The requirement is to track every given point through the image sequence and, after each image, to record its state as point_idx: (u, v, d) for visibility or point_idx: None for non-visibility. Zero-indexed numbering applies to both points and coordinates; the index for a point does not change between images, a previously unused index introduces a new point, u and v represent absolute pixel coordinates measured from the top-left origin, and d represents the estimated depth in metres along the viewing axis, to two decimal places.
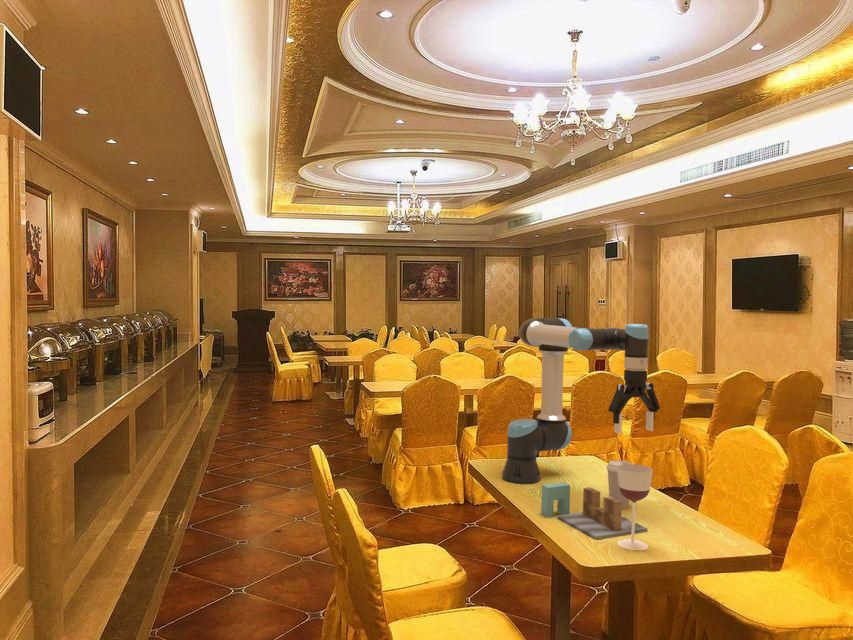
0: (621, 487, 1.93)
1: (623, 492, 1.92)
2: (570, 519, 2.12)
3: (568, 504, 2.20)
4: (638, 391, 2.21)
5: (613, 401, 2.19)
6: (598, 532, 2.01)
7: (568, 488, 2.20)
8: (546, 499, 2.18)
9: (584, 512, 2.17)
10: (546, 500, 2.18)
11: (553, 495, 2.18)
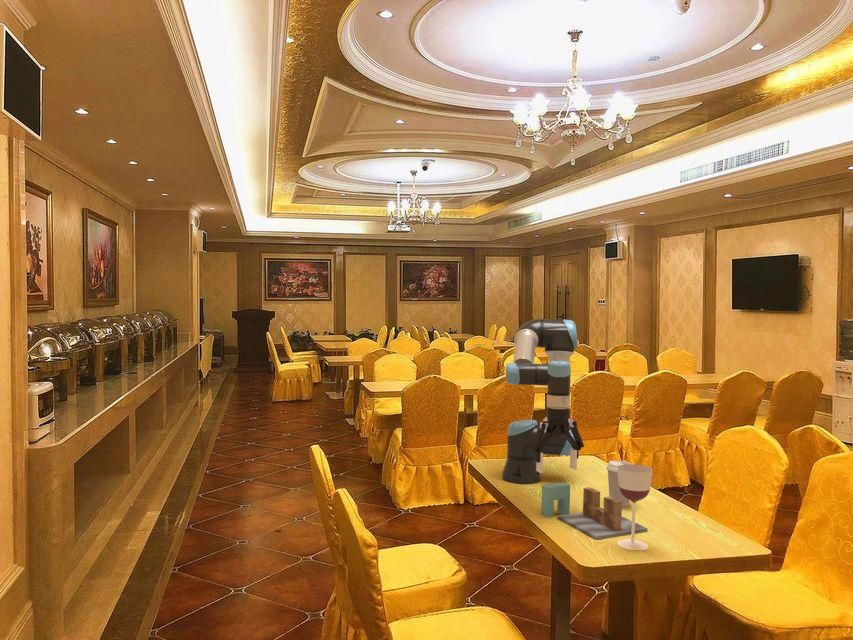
0: (621, 487, 1.93)
1: (623, 492, 1.92)
2: (570, 519, 2.12)
3: (568, 504, 2.20)
4: (560, 429, 2.19)
5: (534, 440, 2.16)
6: (598, 532, 2.01)
7: (568, 488, 2.20)
8: (546, 499, 2.18)
9: (584, 512, 2.17)
10: (546, 500, 2.18)
11: (553, 495, 2.18)
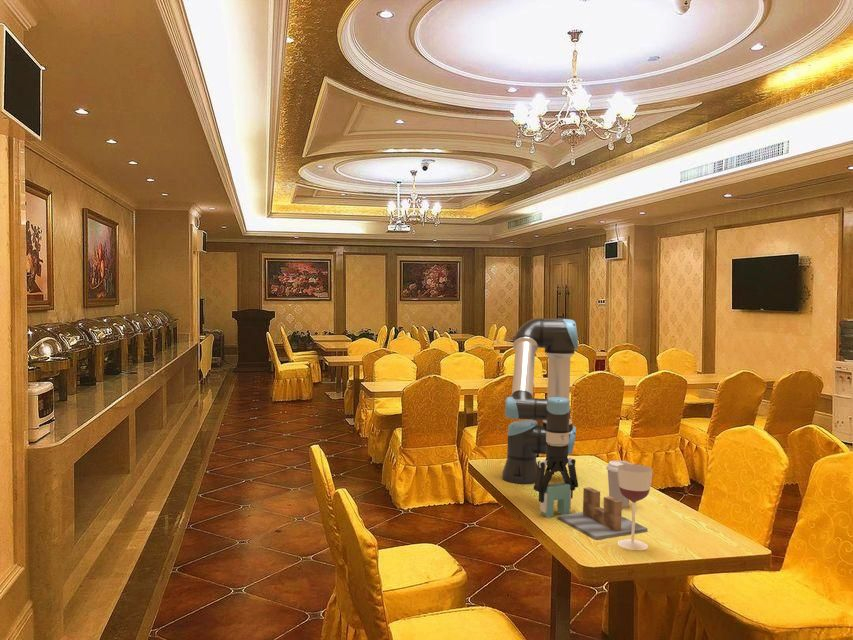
0: (621, 487, 1.93)
1: (623, 492, 1.92)
2: (570, 519, 2.12)
3: (568, 504, 2.20)
4: (559, 466, 2.19)
5: (536, 480, 2.17)
6: (598, 532, 2.01)
7: (568, 488, 2.20)
8: None
9: (584, 512, 2.17)
10: None
11: (553, 495, 2.18)
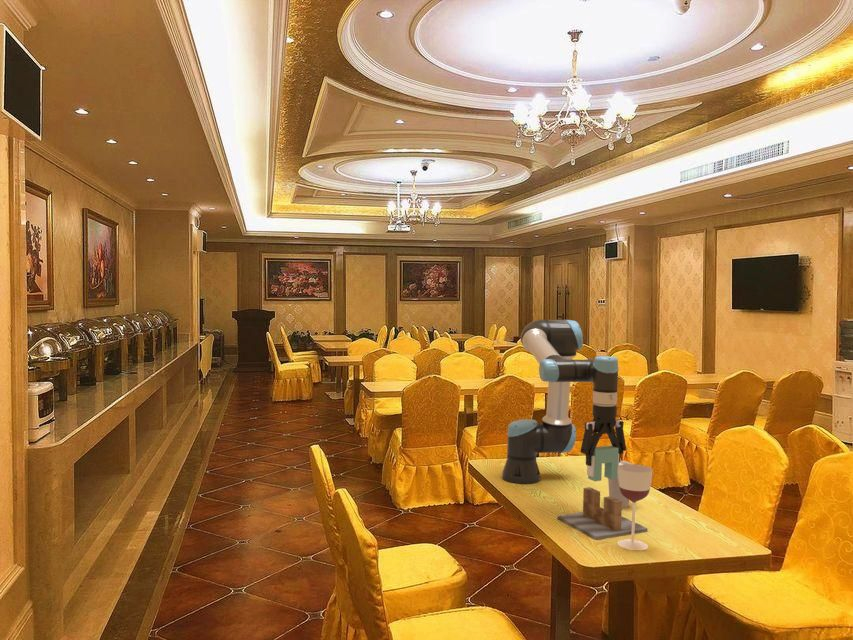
0: (621, 487, 1.93)
1: (623, 492, 1.92)
2: (570, 519, 2.12)
3: (616, 468, 2.10)
4: (607, 427, 2.09)
5: (584, 442, 2.07)
6: (598, 532, 2.01)
7: (616, 451, 2.10)
8: None
9: (584, 512, 2.17)
10: None
11: (601, 458, 2.08)
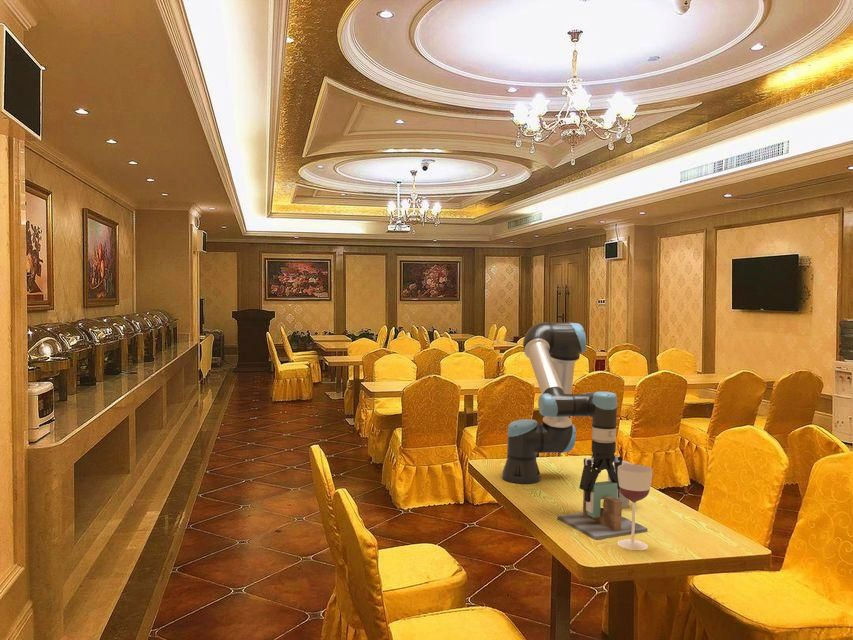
0: (621, 487, 1.93)
1: (623, 492, 1.92)
2: (570, 519, 2.12)
3: None
4: (606, 463, 2.09)
5: (583, 478, 2.08)
6: (598, 532, 2.01)
7: (615, 486, 2.10)
8: None
9: (584, 512, 2.17)
10: None
11: (600, 494, 2.08)
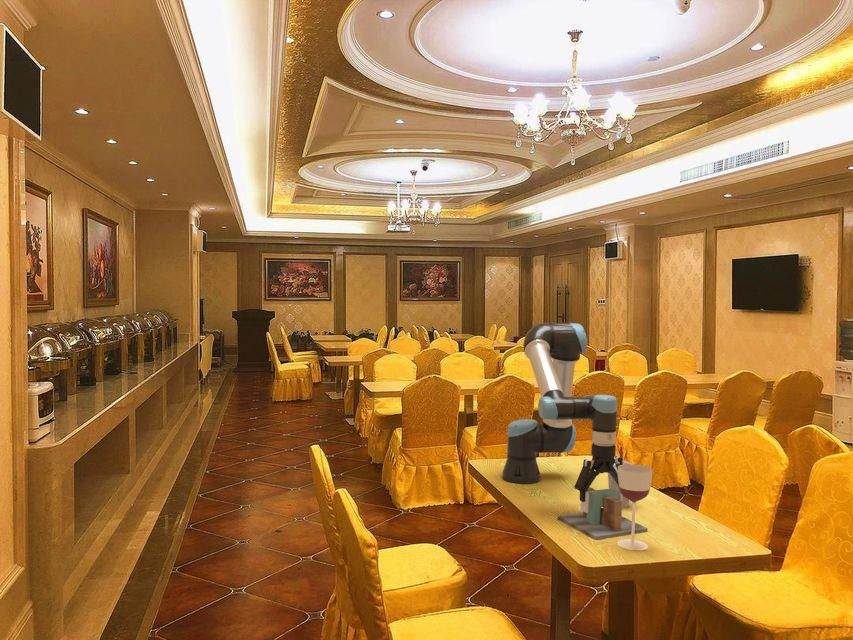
0: (621, 487, 1.93)
1: (623, 492, 1.92)
2: (570, 519, 2.12)
3: None
4: (606, 467, 2.09)
5: (579, 478, 2.07)
6: (598, 532, 2.01)
7: (615, 494, 2.11)
8: (592, 506, 2.08)
9: (584, 512, 2.17)
10: (592, 507, 2.08)
11: (600, 502, 2.08)
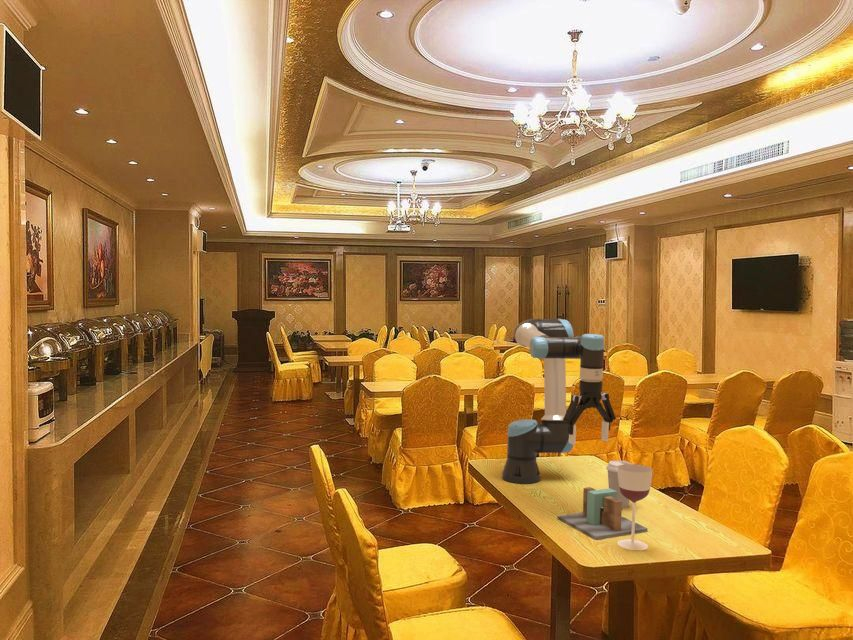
0: (621, 487, 1.93)
1: (623, 492, 1.92)
2: (570, 519, 2.12)
3: None
4: (593, 402, 2.20)
5: (567, 412, 2.17)
6: (598, 532, 2.01)
7: (615, 494, 2.11)
8: (592, 506, 2.08)
9: (584, 512, 2.17)
10: (592, 507, 2.08)
11: (600, 502, 2.08)
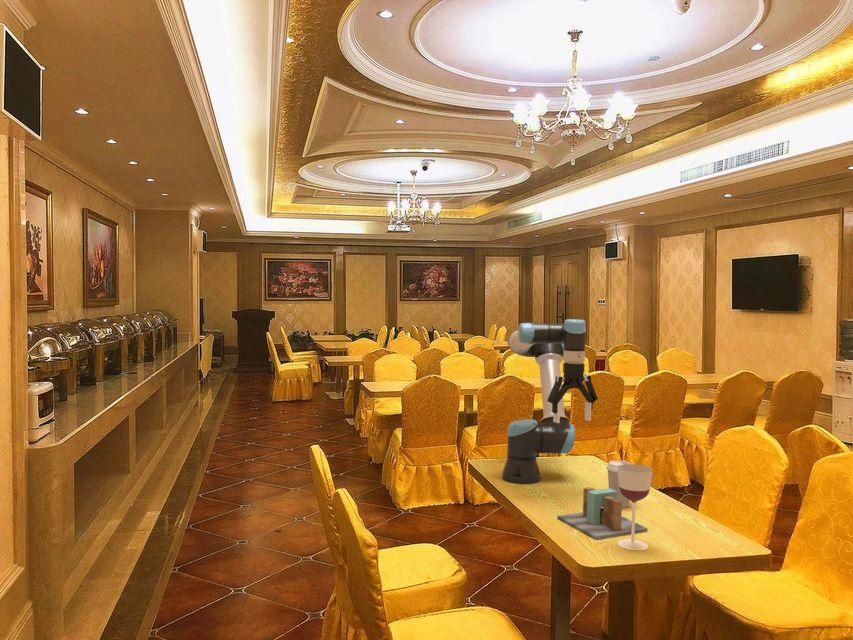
0: (621, 487, 1.93)
1: (623, 492, 1.92)
2: (570, 519, 2.12)
3: None
4: (576, 383, 2.34)
5: (552, 392, 2.32)
6: (598, 532, 2.01)
7: (615, 494, 2.11)
8: (592, 506, 2.08)
9: (584, 512, 2.17)
10: (592, 507, 2.08)
11: (600, 502, 2.08)
